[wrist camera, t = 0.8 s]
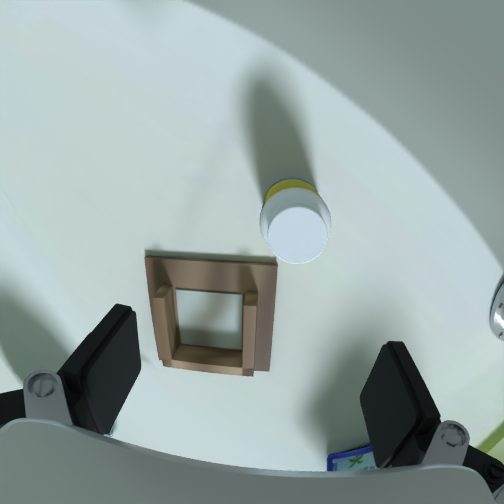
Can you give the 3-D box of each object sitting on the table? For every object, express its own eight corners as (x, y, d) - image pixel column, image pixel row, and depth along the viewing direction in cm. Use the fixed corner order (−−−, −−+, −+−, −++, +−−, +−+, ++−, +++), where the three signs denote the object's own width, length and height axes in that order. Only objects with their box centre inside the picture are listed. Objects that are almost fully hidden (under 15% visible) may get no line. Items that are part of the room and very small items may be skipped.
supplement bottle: (256, 185, 28) (246, 205, 19) (312, 171, 28) (330, 185, 18) (271, 238, 30) (268, 281, 21) (324, 225, 29) (345, 263, 20)
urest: (277, 263, 31) (277, 278, 28) (269, 368, 36) (268, 388, 32) (146, 255, 32) (133, 268, 28) (160, 356, 37) (151, 374, 33)
